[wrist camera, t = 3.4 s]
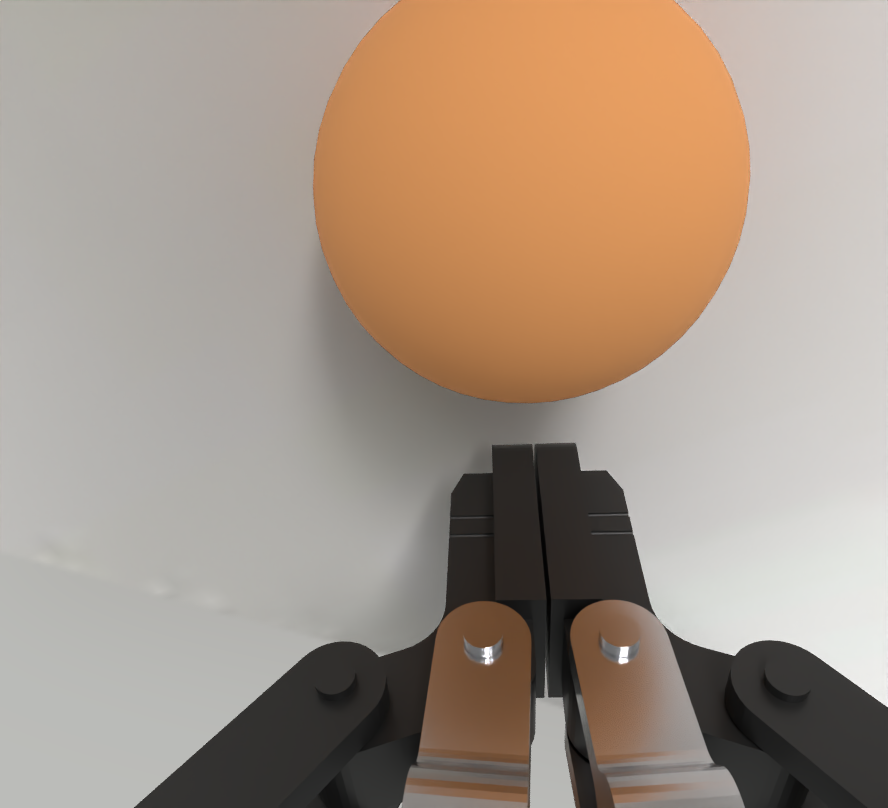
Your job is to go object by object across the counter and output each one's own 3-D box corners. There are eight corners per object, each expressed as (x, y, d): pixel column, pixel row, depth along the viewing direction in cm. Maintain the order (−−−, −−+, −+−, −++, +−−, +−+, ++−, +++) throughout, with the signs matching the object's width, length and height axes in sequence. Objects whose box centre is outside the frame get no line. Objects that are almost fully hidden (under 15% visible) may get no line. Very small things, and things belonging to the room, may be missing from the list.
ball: (323, -45, 10) (206, -11, 6) (712, -72, 9) (899, -59, 5) (369, 300, 12) (313, 495, 8) (668, 288, 12) (767, 486, 8)
